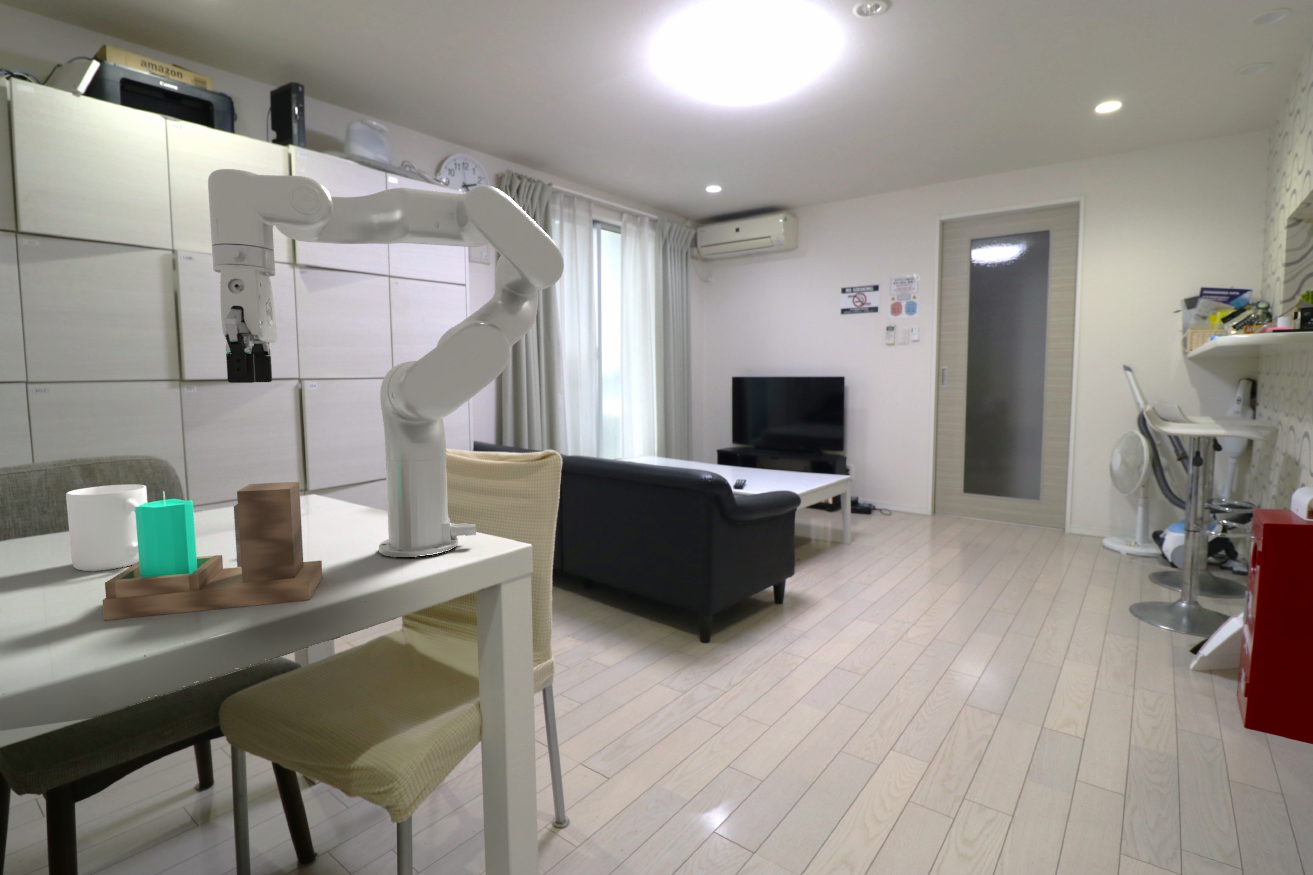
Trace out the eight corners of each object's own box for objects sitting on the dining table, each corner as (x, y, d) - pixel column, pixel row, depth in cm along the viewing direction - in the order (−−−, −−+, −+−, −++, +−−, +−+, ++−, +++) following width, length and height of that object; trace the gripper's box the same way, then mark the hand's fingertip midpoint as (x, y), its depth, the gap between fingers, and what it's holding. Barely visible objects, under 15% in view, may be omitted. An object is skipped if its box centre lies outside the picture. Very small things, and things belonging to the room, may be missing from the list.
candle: (168, 591, 79) (161, 496, 78) (128, 588, 81) (120, 494, 79) (210, 576, 85) (204, 488, 84) (172, 574, 86) (166, 486, 85)
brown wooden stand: (322, 577, 93) (317, 478, 92) (309, 599, 84) (304, 490, 82) (140, 593, 86) (132, 487, 85) (104, 620, 77) (94, 501, 75)
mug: (110, 554, 105) (105, 484, 104) (181, 555, 105) (176, 484, 103) (54, 571, 96) (47, 494, 95) (132, 572, 95) (126, 495, 94)
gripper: (258, 253, 85) (265, 383, 86) (287, 273, 101) (292, 382, 103) (191, 249, 82) (200, 383, 84) (232, 270, 99) (238, 382, 100)
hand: (251, 382), depth 93 cm, fingers open, 9 cm apart
